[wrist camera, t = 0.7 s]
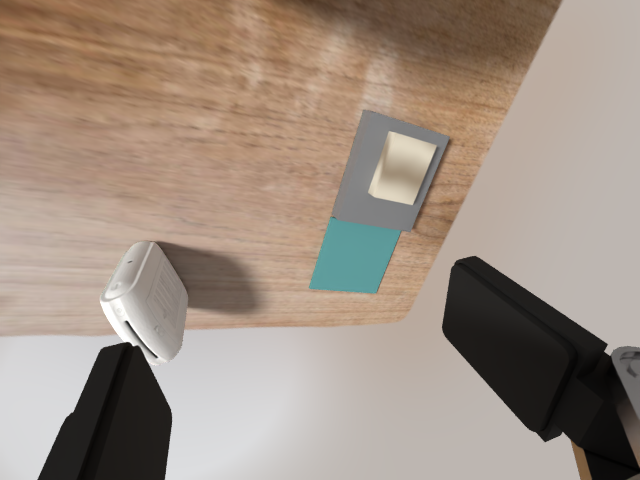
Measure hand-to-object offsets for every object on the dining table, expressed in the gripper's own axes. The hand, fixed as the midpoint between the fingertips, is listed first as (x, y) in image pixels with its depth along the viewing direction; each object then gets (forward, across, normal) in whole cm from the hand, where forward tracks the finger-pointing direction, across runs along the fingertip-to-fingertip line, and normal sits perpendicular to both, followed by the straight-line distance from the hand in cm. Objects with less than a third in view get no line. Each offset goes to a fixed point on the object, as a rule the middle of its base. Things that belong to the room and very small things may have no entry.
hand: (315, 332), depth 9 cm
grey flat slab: (+32, -19, +6) cm, 37 cm away
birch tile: (+29, -19, +5) cm, 35 cm away
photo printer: (+32, +13, +14) cm, 37 cm away
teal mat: (+32, -14, +19) cm, 39 cm away
